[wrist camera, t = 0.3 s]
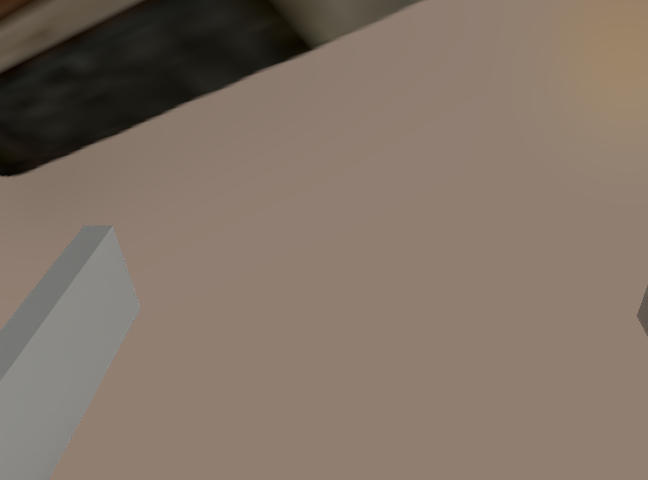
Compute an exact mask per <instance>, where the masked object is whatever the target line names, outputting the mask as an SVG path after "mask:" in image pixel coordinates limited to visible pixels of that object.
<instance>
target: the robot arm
mask: <svg viewBox="0 0 648 480" xmlns="http://www.w3.org/2000/svg"><path fill="white" fill-rule="evenodd" d="M140 308H141V307H140V304H139V301H138V298H137V295H136V292H135V289H134V286H133V284H132V281H131V277H130V275H129V272H128V269H127V266H126V263H125V260H124V257H123V254H122V251H121V248H120V245H119V242H118V239H117V236H116V234H115V231H114V228H113V226H83V228H82V229H81V230H80V232H79V233H78V234H77V235H76V236H75V238H74V239H73V240H72V241H71V243H70V244H69V245H68V246H67V248H66V249H65V250H64V251H63V253H62V254H61V255H60V256H59V258H58V259H57V260H56V262H55V263H54V264H53V265H52V266H51V268H50V269H49V270H48V272H47V273H46V274H45V275H44V276H43V278H42V279H41V280H40V282H39V283H38V284H37V285H36V287H35V288H34V289H33V290H32V292H31V293H30V294H29V295H28V297H27V298H26V299H25V300H24V302H23V303H22V304H21V306H20V307H19V308H18V309H17V310H16V312H15V313H14V314H13V315H12V317H11V318H10V319H9V320H8V322H7V323H6V324H5V325H4V327H3V328H2V329H1V330H0V480H49V478H50V476H51V474H52V473H53V471H54V469H55V467H56V465H57V463H58V461H59V459H60V458H61V456H62V454H63V452H64V450H65V448H66V446H67V444H68V443H69V441H70V439H71V437H72V435H73V433H74V431H75V430H76V428H77V426H78V424H79V422H80V420H81V418H82V416H83V415H84V413H85V411H86V409H87V407H88V405H89V403H90V402H91V399H92V398H93V396H94V394H95V392H96V390H97V388H98V387H99V385H100V383H101V381H102V379H103V377H104V375H105V373H106V372H107V370H108V368H109V366H110V364H111V362H112V360H113V358H114V357H115V355H116V353H117V351H118V349H119V347H120V345H121V344H122V342H123V340H124V338H125V336H126V334H127V332H128V330H129V329H130V327H131V325H132V323H133V321H134V319H135V317H136V315H137V314H138V312H139V310H140ZM637 317H638V319H639V321H640V322H641V324H642V327H643V328H644V330H645V332H646V334H647V336H648V286H647V289H646V292H645V295H644V297H643V300H642V303H641V306H640V309H639V312H638V314H637Z"/></svg>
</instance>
